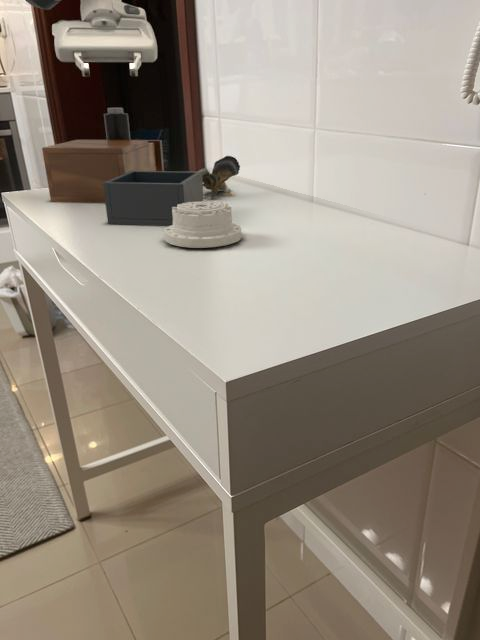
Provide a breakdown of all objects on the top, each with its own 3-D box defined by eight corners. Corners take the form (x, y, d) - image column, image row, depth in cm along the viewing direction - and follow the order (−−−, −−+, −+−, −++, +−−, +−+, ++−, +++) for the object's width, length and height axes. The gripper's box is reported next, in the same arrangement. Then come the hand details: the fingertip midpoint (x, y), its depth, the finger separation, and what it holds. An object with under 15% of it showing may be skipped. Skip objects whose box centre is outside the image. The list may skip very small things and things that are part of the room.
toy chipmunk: (244, 193, 96) (249, 175, 103) (219, 157, 93) (227, 141, 100) (209, 215, 99) (217, 196, 106) (184, 182, 96) (194, 164, 103)
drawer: (113, 171, 121) (109, 137, 118) (170, 172, 119) (167, 138, 116) (81, 184, 106) (75, 146, 103) (145, 186, 104) (141, 146, 101)
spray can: (107, 176, 108) (99, 108, 102) (115, 172, 112) (108, 107, 106) (129, 176, 107) (122, 108, 102) (137, 173, 111) (130, 107, 106)
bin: (107, 224, 81) (102, 182, 78) (134, 207, 91) (130, 170, 89) (185, 226, 79) (183, 184, 77) (203, 209, 90) (202, 171, 87)
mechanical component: (199, 255, 66) (257, 239, 73) (197, 218, 64) (257, 204, 71) (149, 240, 72) (206, 227, 79) (145, 206, 70) (204, 195, 77)
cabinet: (83, 187, 108) (77, 139, 104) (152, 188, 107) (148, 140, 103) (50, 201, 96) (41, 147, 92) (127, 203, 94) (121, 148, 91)
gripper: (48, 7, 111) (53, 60, 107) (152, 9, 116) (160, 61, 111) (53, 34, 117) (58, 86, 113) (152, 35, 121) (160, 85, 117)
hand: (110, 73), depth 112 cm, fingers open, 8 cm apart
